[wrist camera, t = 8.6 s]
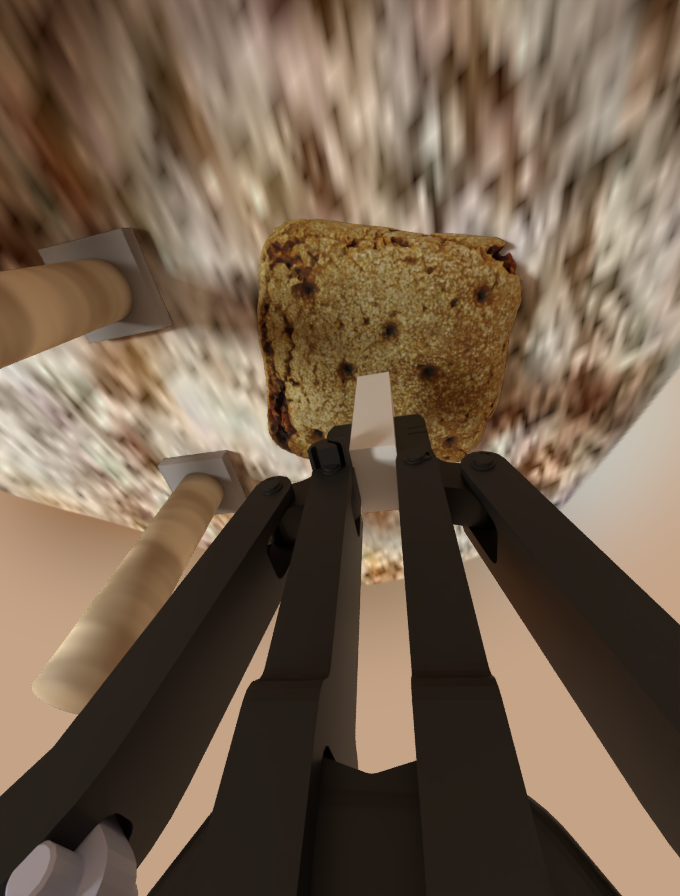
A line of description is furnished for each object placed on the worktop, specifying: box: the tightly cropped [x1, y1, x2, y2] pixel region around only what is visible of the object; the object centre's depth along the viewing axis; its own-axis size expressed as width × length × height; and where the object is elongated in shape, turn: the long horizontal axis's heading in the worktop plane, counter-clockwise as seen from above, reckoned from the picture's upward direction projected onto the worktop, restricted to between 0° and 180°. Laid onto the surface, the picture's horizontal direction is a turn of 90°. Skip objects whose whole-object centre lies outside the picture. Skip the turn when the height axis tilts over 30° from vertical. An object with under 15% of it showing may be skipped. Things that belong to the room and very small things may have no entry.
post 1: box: [0, 228, 173, 369], centre depth 15 cm, size 5×5×15 cm
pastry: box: [257, 219, 523, 463], centre depth 21 cm, size 17×17×3 cm
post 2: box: [32, 450, 247, 715], centre depth 22 cm, size 5×5×15 cm
